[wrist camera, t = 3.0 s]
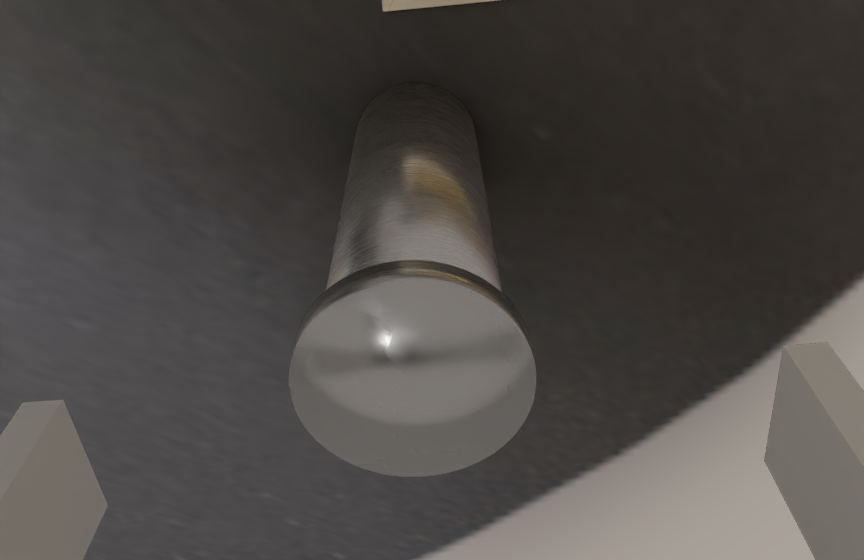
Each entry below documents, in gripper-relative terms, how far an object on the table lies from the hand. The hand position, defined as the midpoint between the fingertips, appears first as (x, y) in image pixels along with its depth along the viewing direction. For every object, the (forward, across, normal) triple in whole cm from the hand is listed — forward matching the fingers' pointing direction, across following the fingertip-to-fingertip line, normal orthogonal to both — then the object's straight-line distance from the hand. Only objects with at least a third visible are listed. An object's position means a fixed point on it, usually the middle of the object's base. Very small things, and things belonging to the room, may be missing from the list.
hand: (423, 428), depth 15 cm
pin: (+14, 0, 0) cm, 14 cm away
